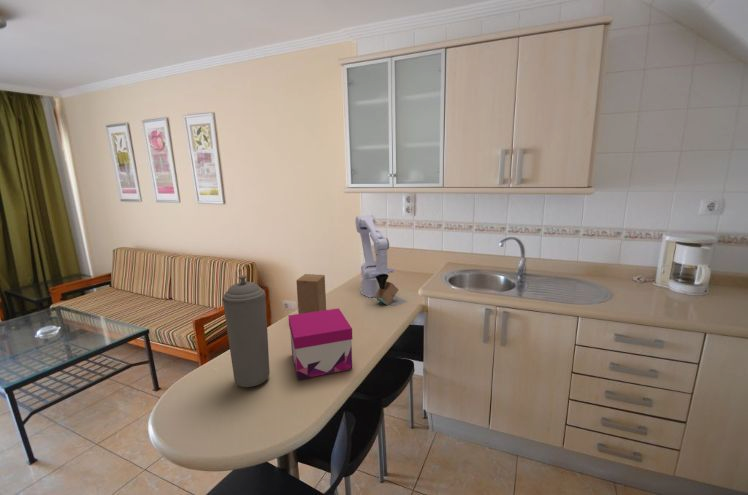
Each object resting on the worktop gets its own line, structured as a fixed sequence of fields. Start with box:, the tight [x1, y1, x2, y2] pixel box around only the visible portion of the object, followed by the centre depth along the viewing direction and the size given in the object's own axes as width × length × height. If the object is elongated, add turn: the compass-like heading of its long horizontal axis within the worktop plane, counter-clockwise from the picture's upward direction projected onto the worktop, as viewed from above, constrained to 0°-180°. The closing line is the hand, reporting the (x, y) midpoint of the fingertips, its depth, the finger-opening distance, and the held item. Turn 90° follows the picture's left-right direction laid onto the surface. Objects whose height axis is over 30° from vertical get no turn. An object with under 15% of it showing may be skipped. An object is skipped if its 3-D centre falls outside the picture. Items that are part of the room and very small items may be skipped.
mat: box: [388, 295, 408, 307], centre depth 178 cm, size 12×11×1 cm
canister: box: [221, 274, 270, 388], centre depth 108 cm, size 13×13×35 cm
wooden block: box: [296, 273, 327, 314], centre depth 156 cm, size 10×10×20 cm
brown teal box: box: [373, 280, 399, 306], centre depth 174 cm, size 6×6×10 cm
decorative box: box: [287, 308, 353, 380], centre depth 120 cm, size 19×19×15 cm
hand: (381, 288), depth 172 cm, fingers closed
